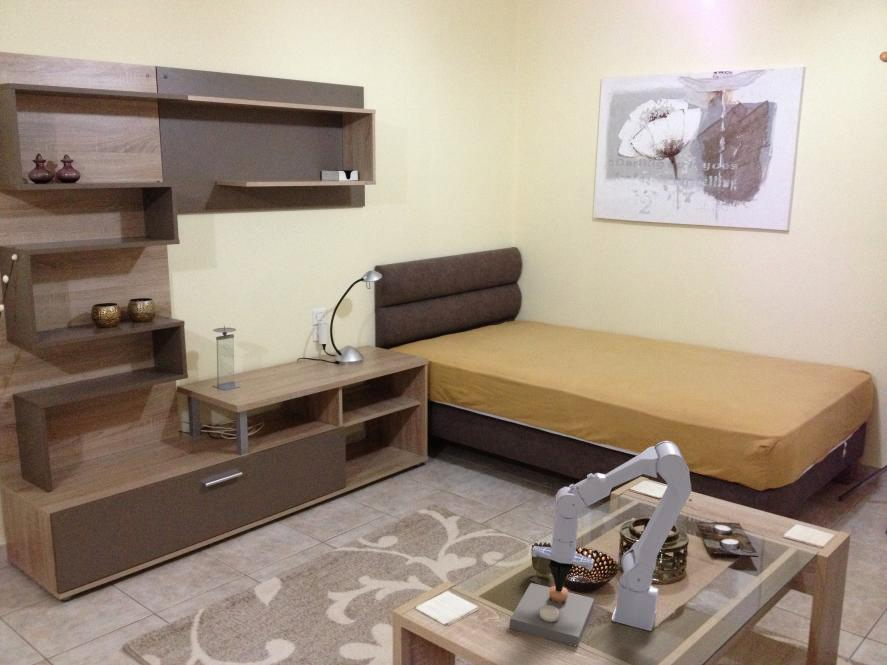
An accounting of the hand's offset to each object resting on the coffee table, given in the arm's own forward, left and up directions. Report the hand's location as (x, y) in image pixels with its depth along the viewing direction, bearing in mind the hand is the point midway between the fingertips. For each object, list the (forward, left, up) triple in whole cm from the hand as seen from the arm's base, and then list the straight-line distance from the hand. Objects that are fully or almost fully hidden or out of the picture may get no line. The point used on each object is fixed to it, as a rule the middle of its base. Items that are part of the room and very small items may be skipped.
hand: (559, 589), depth 197 cm
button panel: (0, +5, -5) cm, 7 cm away
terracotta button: (0, 0, -4) cm, 4 cm away
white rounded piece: (0, +9, -5) cm, 10 cm away
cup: (+7, -13, -5) cm, 16 cm away
